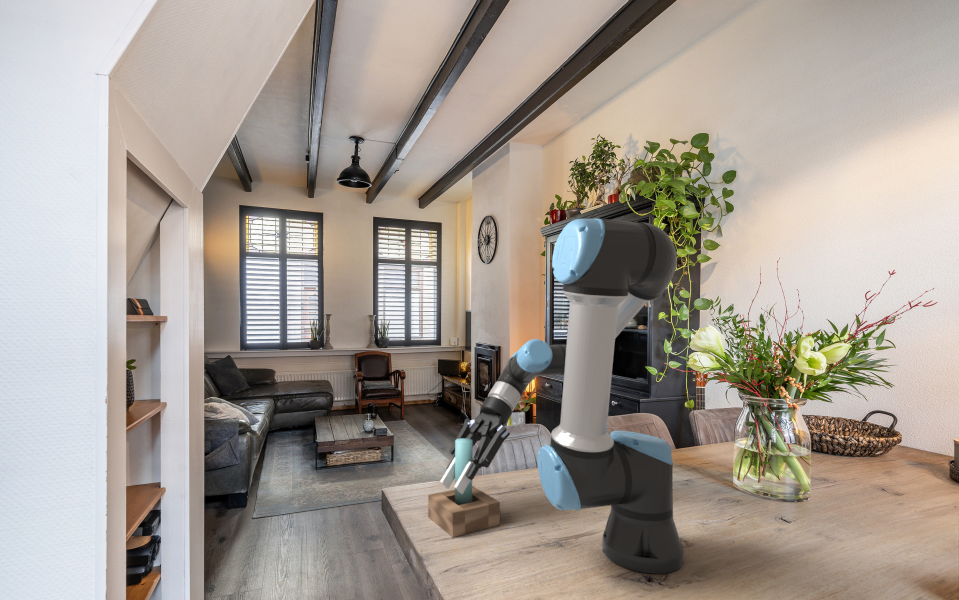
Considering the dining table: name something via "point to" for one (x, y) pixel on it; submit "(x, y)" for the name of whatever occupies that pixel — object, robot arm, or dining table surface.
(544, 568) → the dining table surface
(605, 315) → the robot arm
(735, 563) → the dining table surface
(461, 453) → the dowel
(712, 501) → the dining table surface
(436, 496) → the socket block
